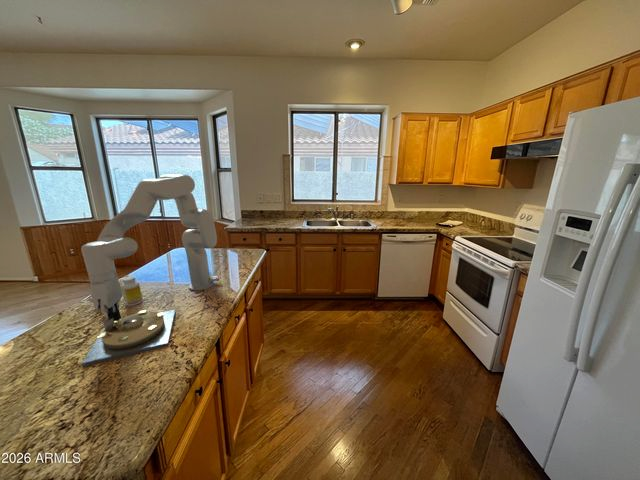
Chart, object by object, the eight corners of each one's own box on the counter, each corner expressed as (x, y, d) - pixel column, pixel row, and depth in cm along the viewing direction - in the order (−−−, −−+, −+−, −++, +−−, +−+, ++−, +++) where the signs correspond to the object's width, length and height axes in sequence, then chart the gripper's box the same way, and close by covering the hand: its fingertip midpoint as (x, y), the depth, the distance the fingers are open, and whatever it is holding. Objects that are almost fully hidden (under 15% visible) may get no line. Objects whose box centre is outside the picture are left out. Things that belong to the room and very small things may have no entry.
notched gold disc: (118, 321, 101) (114, 306, 99) (170, 314, 106) (167, 300, 104) (90, 353, 84) (85, 336, 82) (155, 342, 88) (151, 326, 87)
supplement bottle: (146, 301, 121) (140, 276, 117) (131, 307, 115) (125, 282, 111) (137, 298, 123) (132, 274, 120) (122, 304, 118) (116, 279, 114)
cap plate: (175, 312, 110) (175, 309, 110) (168, 346, 89) (167, 342, 89) (107, 326, 101) (106, 322, 101) (80, 367, 80) (79, 363, 79)
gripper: (103, 269, 96) (114, 311, 101) (77, 286, 82) (91, 333, 87) (125, 267, 98) (135, 308, 103) (103, 283, 84) (116, 330, 89)
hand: (115, 319), depth 95 cm, fingers closed
